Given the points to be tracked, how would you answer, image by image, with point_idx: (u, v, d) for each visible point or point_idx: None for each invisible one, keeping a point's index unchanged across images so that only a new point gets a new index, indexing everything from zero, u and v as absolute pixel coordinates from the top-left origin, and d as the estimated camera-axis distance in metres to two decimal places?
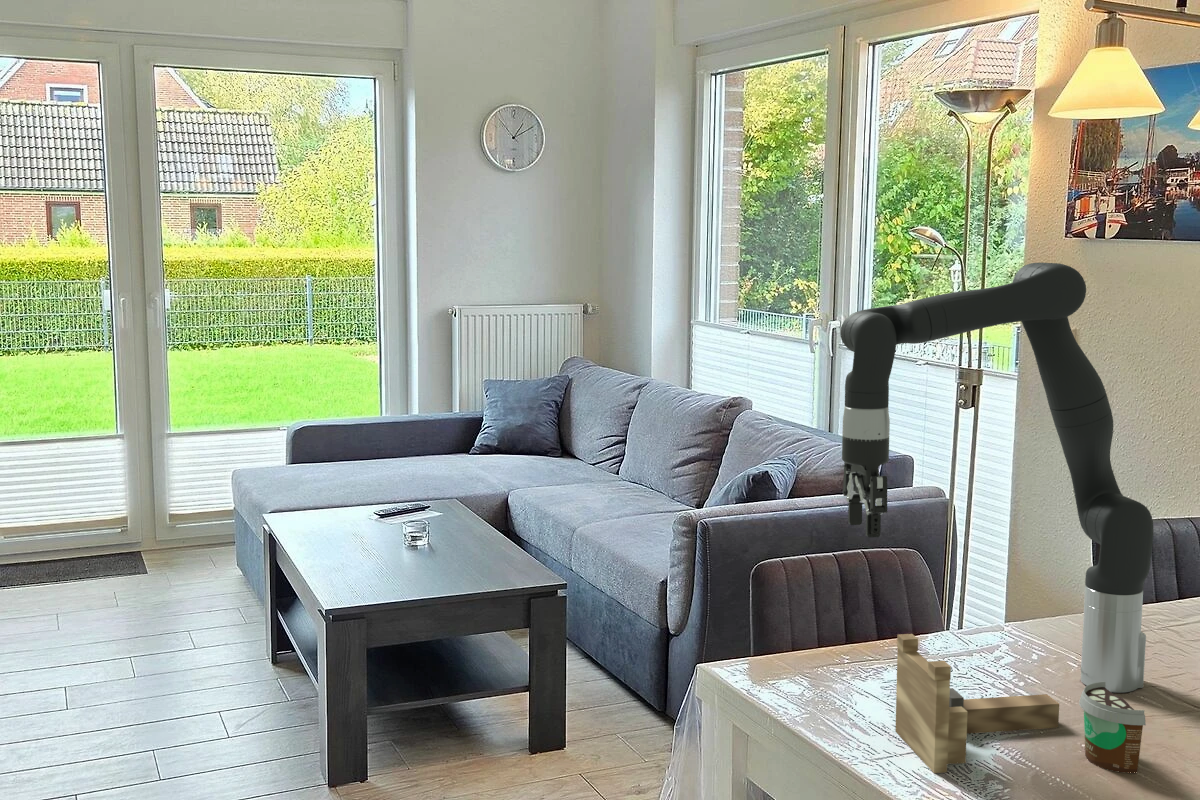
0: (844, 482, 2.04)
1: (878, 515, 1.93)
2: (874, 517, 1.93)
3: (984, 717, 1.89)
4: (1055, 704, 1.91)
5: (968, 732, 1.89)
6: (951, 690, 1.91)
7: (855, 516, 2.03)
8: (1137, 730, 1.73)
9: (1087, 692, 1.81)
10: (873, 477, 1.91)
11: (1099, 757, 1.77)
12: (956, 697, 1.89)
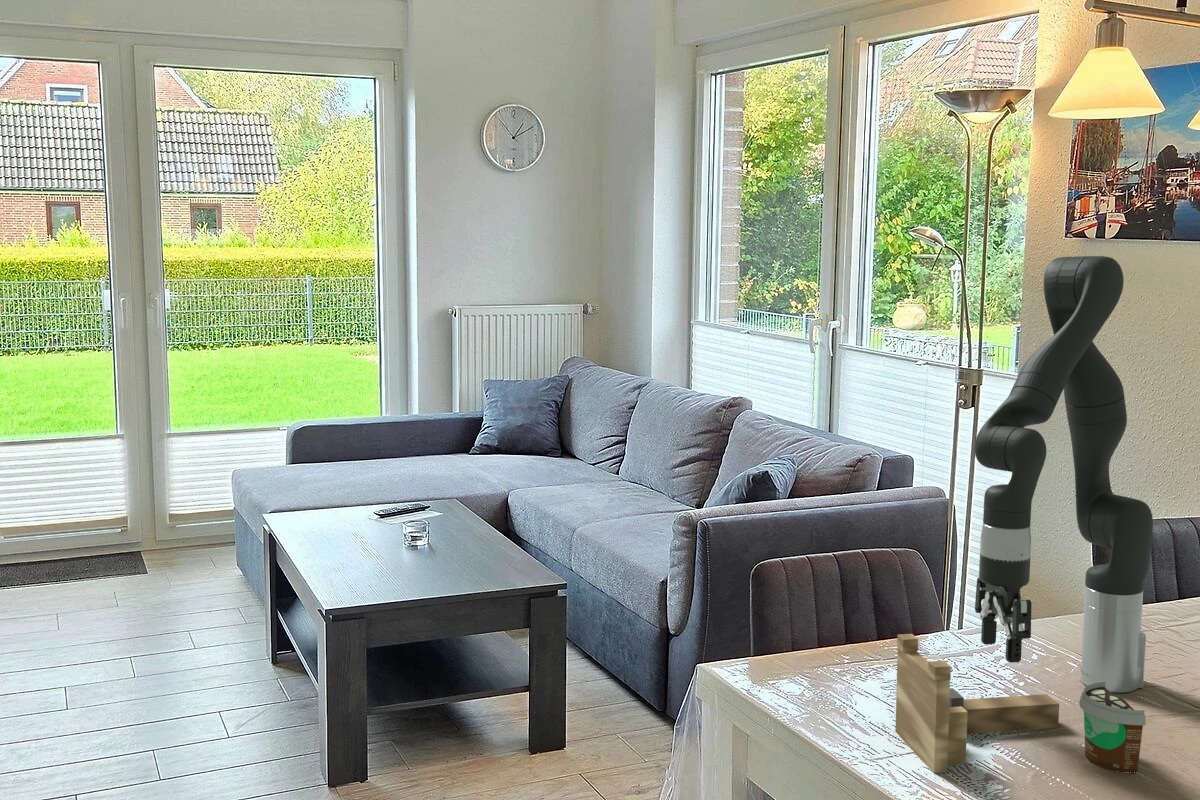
0: (977, 598, 1.96)
1: (1020, 640, 1.84)
2: (1015, 642, 1.85)
3: (984, 717, 1.89)
4: (1055, 704, 1.91)
5: (968, 732, 1.89)
6: (951, 690, 1.91)
7: (989, 635, 1.94)
8: (1137, 730, 1.73)
9: (1087, 692, 1.81)
10: (1017, 601, 1.82)
11: (1099, 757, 1.77)
12: (956, 697, 1.89)
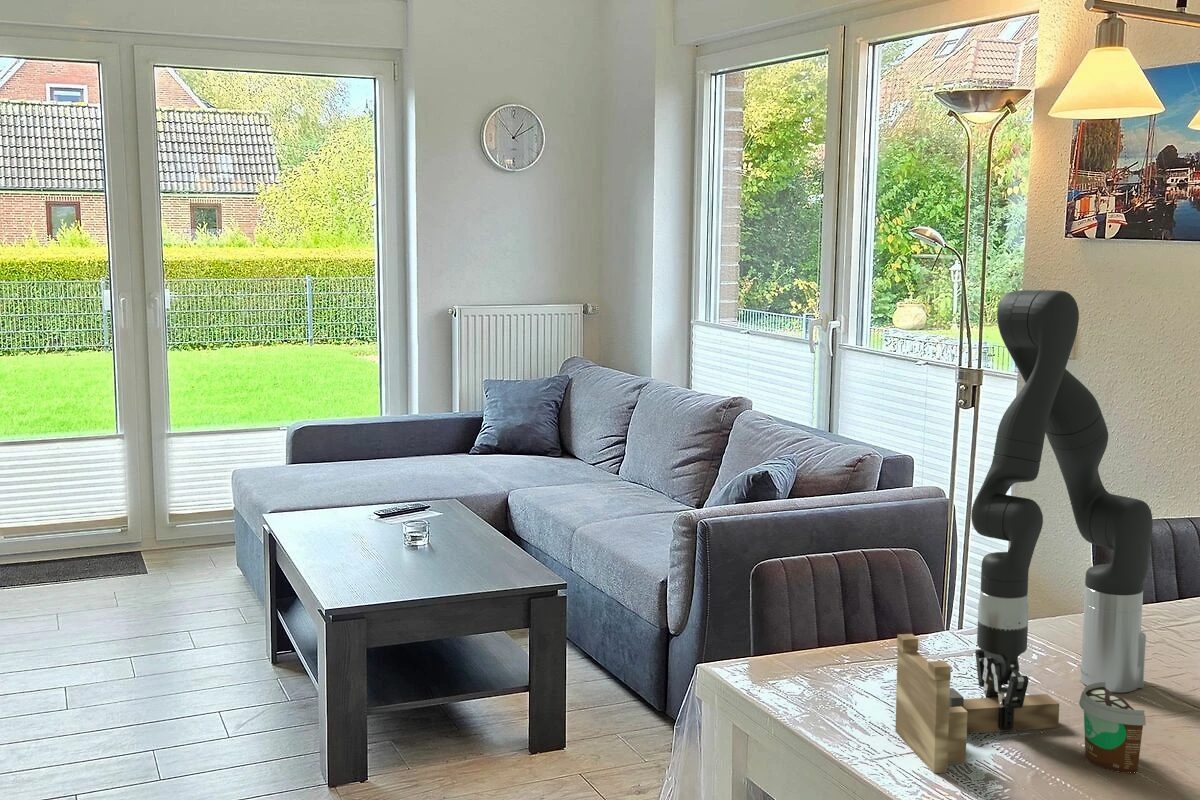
0: (978, 672, 1.96)
1: (1012, 709, 1.88)
2: (1008, 711, 1.88)
3: (984, 717, 1.89)
4: (1055, 704, 1.91)
5: (968, 732, 1.89)
6: (951, 690, 1.91)
7: None
8: (1137, 730, 1.73)
9: (1087, 692, 1.81)
10: (1014, 679, 1.84)
11: (1099, 757, 1.77)
12: (956, 696, 1.89)
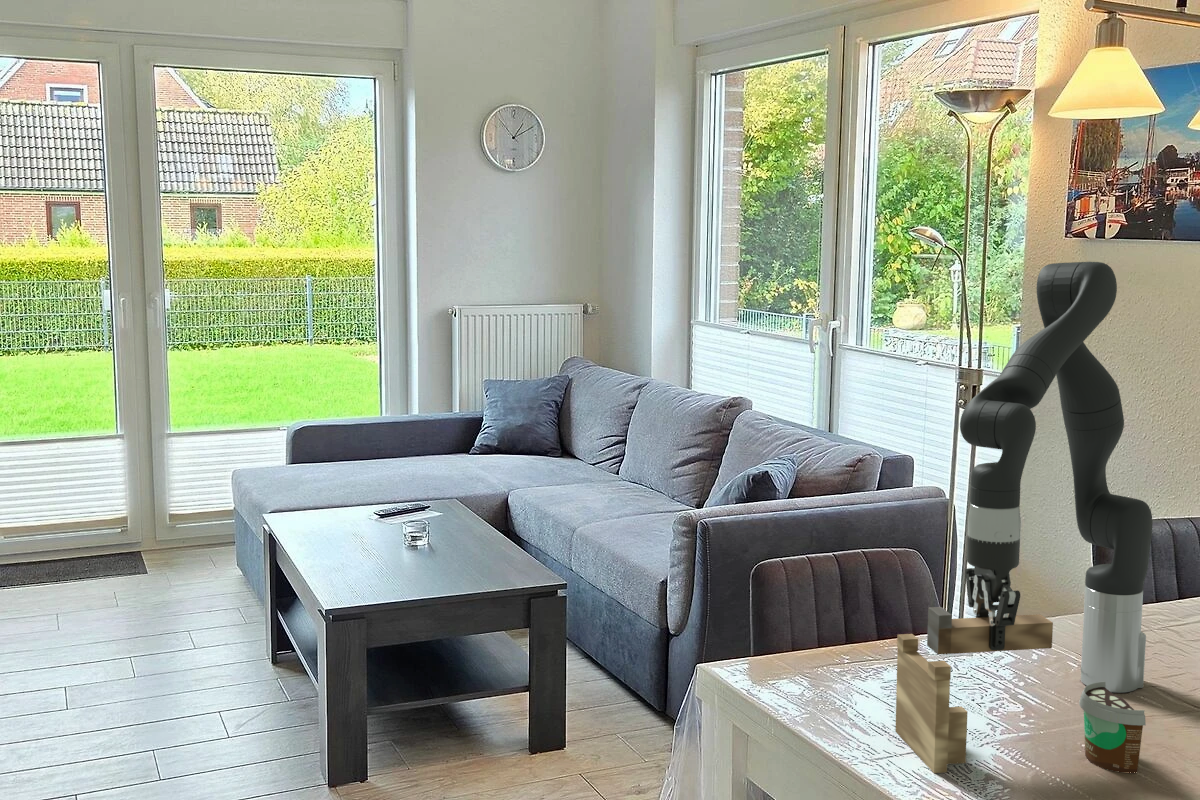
0: (968, 591, 1.86)
1: (1003, 627, 1.78)
2: (999, 629, 1.78)
3: (974, 636, 1.79)
4: (1048, 623, 1.81)
5: (957, 652, 1.79)
6: (939, 608, 1.81)
7: None
8: (1137, 730, 1.73)
9: (1087, 692, 1.81)
10: (1005, 594, 1.74)
11: (1099, 757, 1.77)
12: (944, 614, 1.79)
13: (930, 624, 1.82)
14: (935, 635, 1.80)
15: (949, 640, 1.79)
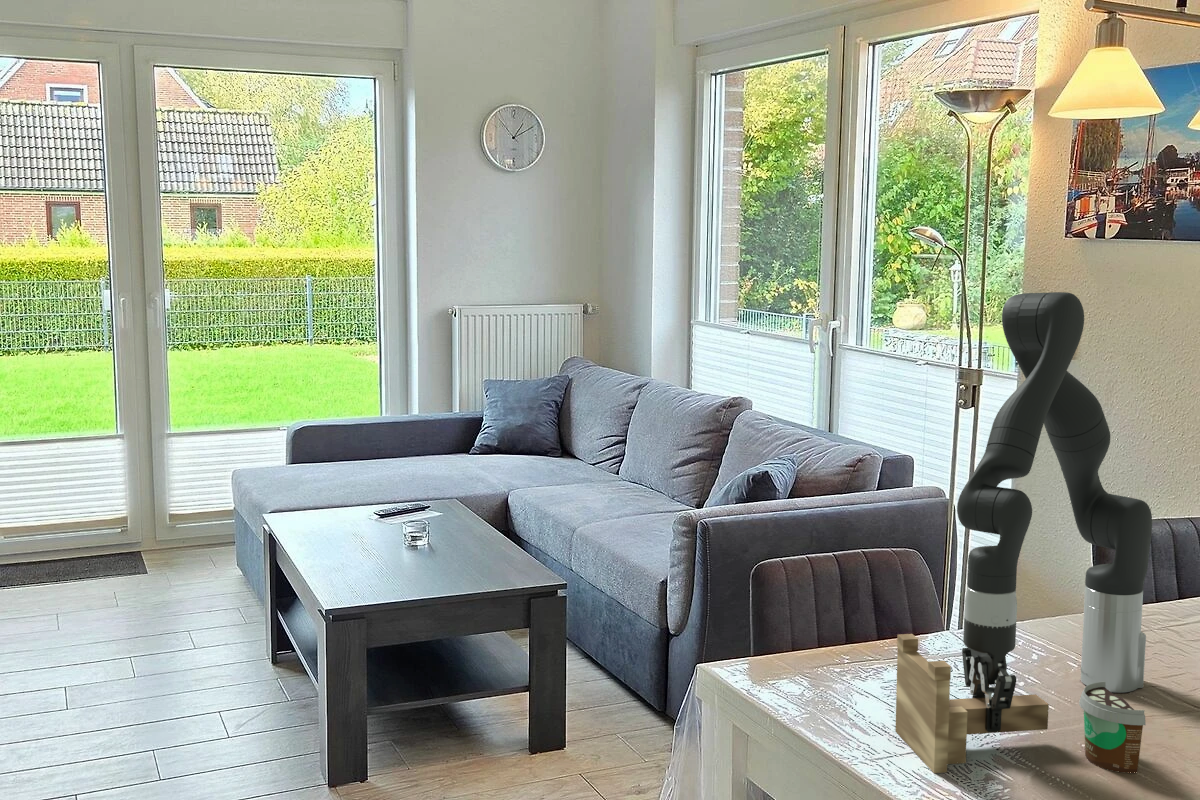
0: (965, 671, 1.88)
1: (999, 710, 1.80)
2: (995, 712, 1.80)
3: (970, 718, 1.81)
4: (1044, 705, 1.83)
5: None
6: None
7: None
8: (1137, 730, 1.73)
9: (1087, 692, 1.81)
10: (1002, 678, 1.76)
11: (1099, 757, 1.77)
12: None
13: None
14: None
15: None
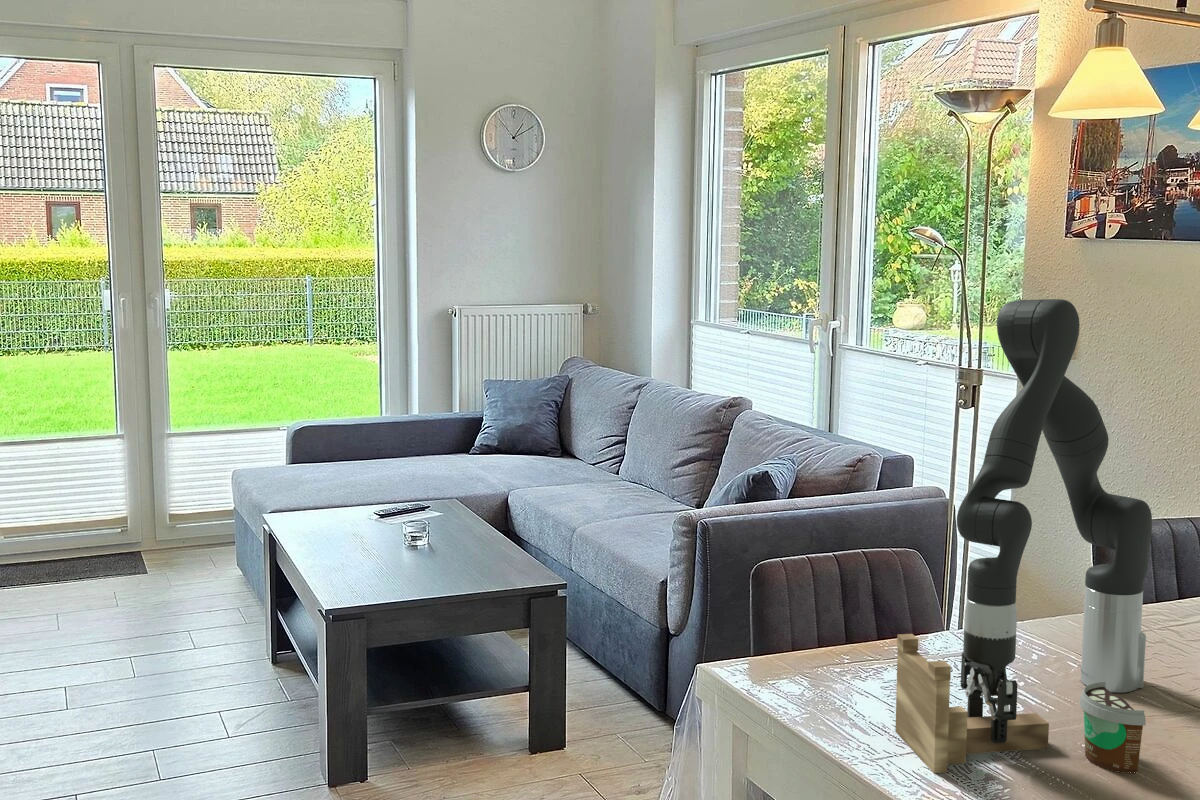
0: (962, 674, 1.89)
1: (1005, 721, 1.78)
2: (1001, 723, 1.79)
3: (971, 737, 1.82)
4: (1044, 724, 1.83)
5: None
6: None
7: (976, 713, 1.87)
8: (1137, 730, 1.73)
9: (1087, 692, 1.81)
10: (1002, 683, 1.76)
11: (1099, 757, 1.77)
12: None
13: None
14: None
15: None
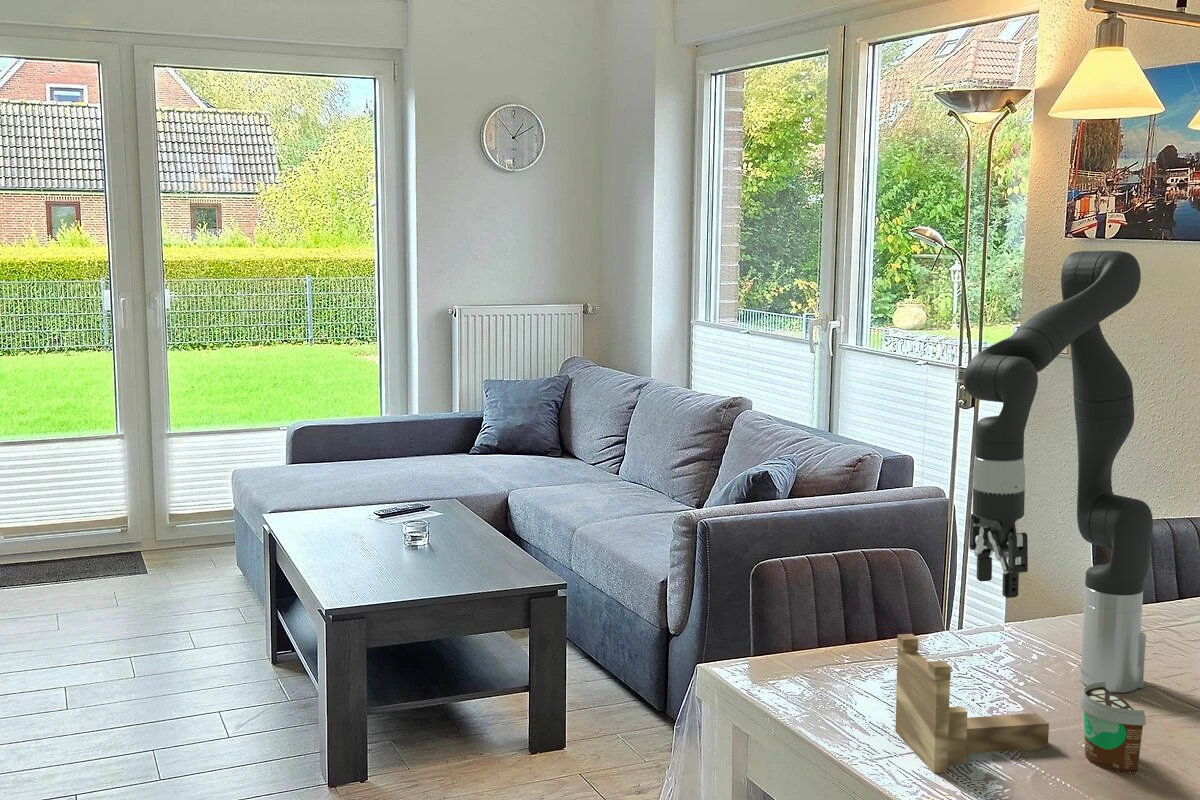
0: (971, 535, 1.91)
1: (1017, 574, 1.80)
2: (1012, 576, 1.80)
3: (971, 737, 1.82)
4: (1045, 724, 1.83)
5: None
6: None
7: (985, 572, 1.89)
8: (1137, 730, 1.73)
9: (1087, 692, 1.81)
10: (1012, 534, 1.78)
11: (1099, 757, 1.77)
12: None
13: None
14: None
15: None
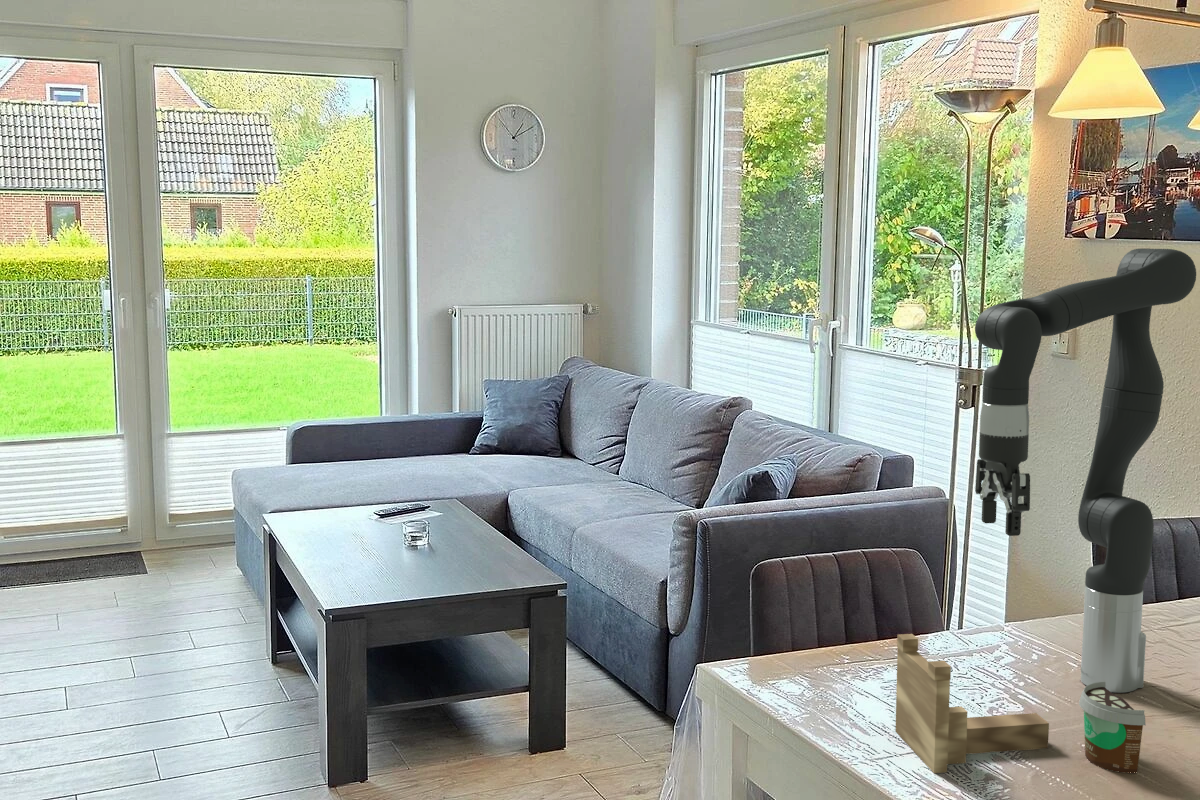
0: (977, 480, 2.01)
1: (1019, 513, 1.90)
2: (1015, 515, 1.90)
3: (971, 737, 1.82)
4: (1045, 724, 1.83)
5: None
6: None
7: (989, 515, 2.00)
8: (1137, 730, 1.73)
9: (1087, 692, 1.81)
10: (1016, 474, 1.88)
11: (1099, 757, 1.77)
12: None
13: None
14: None
15: None
